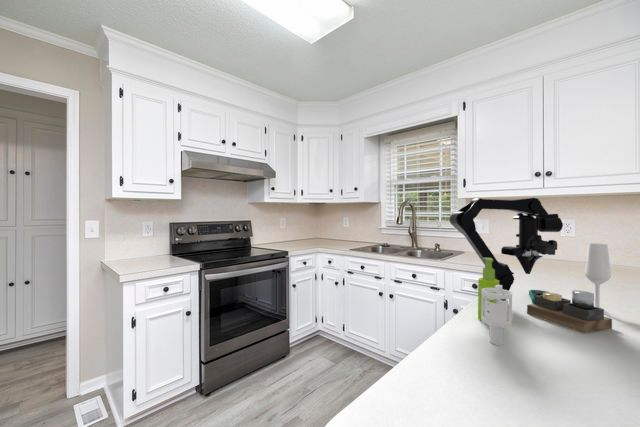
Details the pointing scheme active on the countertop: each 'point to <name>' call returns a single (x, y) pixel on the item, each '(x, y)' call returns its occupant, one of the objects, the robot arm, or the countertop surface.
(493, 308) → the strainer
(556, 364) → the countertop surface
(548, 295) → the brass knob
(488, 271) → the soap dispenser
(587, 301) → the steel knob
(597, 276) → the champagne flute
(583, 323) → the knob console
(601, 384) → the countertop surface
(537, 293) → the digital multimeter
